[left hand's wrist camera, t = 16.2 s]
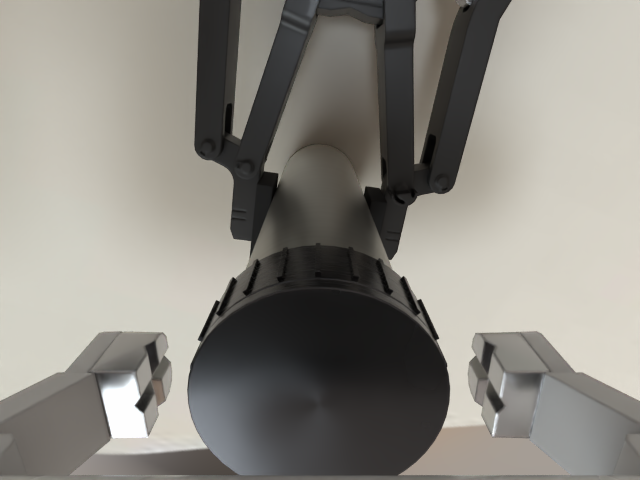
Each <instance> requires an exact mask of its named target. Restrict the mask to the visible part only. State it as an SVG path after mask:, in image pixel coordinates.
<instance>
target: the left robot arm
mask: <svg viewBox="0 0 640 480" xmlns="http://www.w3.org/2000/svg"><path fill="white" fill-rule="evenodd" d="M167 349H168V342H167V337H166V335H165V334H164V333H163V332H121V331H118V332H101V333H99V334H98V335H97V336H96V337H95V338H94V339H93V340H92V342H91V343H90V344H89V345H88V346H87V347H86V348H85V350H84V351H83V352H82V353H81V354H80V355H79V356H78V358H77V359H76V360H75V361H74V362H73V363H72V364H71V366H70V367H69V368H68V369H67V370H66V371H65V372H64V373H56V374H54V375H52V376H50V377H48V378H46V379H44V380H42V381H40V382H38V383H36V384H34V385H32V386H30V387H28V388H26V389H24V390H22V391H20V392H18V393H16V394H14V395H12V396H9V397H7V398H5V399H3V400H1V401H0V480H640V401H638V400H636V399H634V398H632V397H630V396H628V395H626V394H624V393H622V392H620V391H618V390H616V389H614V388H612V387H610V386H608V385H606V384H604V383H602V382H600V381H598V380H596V379H594V378H592V377H590V376H588V375H586V374H584V373H576V372H575V371H574V370H573V369H572V368H571V367H570V366H569V364H568V363H567V362H566V361H565V360H564V359H563V358H562V356H561V355H560V354H559V353H558V352H557V351H556V350H555V348H554V347H553V346H552V345H551V344H550V343H549V342H548V340H547V339H546V338H545V337H544V336H543V335H542V334H541V333H539V332H537V331H529V332H504V333H475V335H474V338H473V342H472V349H473V351H474V353H475V354H476V356H475V357H474V358H473V359H472V360H471V361H470V362H469V368H468V382H469V388H470V391H471V394H472V396H473V399H474V401H475V402H477V403H478V404H479V405H481V406H482V407H483V408H482V414H481V415H482V418H483V420H484V422H485V424H486V426H487V428H488V430H489V432H490V434H491V436H492V437H501V438H530V441H531V442H532V443H534V444H535V445H536V446H537V447H538V448H540V449H541V450H542V451H543V452H544V453H546V454H547V455H548V456H549V457H550V458H551V459H553V460H554V461H555V462H556V463H557V464H559V465H560V466H561V467H562V468H563V469H564V470H566V471H567V472H568V473H569V474H570V475H70V474H71V473H72V472H73V471H74V470H76V469H77V468H78V467H79V466H80V465H82V464H83V463H84V462H85V461H86V460H87V459H89V458H90V457H91V456H92V455H93V454H95V453H96V452H97V451H98V450H99V449H101V448H102V447H103V446H104V445H105V444H107V443H108V442H109V441H110V438H138V437H148V436H149V434H150V432H151V430H152V428H153V426H154V424H155V422H156V420H157V418H158V415H159V414H158V408H157V407H158V406H159V405H161V404H162V403H163V402H165V401H166V399H167V396H168V394H169V392H170V387H171V382H172V367H171V362H170V361H169V360H168V359H167V358H166V357H165V356H164V354H165V353H166V351H167Z"/></svg>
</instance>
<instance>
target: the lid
mask: <svg viewBox="0 0 640 480" xmlns="http://www.w3.org/2000/svg"><path fill="white" fill-rule="evenodd" d="M437 339H439V337H438V335H437V332H436V330H435V328H434V326H433V324H432V322H431V319H430V317H429V315H428V313H427V311H426V309H425V306H424V304H423V302H422V300H421V299H420V300H417V298H416V296H415V295H414V293H413V292H412V290H411V288H410V286H409V284H408V281H407V279H406V278H405V277H404V276H403V277H402V278H401V277H400V276H399V275H398V274H397V273H395V272H394V271H393V270H392V269H391V268H389V267H388V266H387V265H385V264H384V262H383V260H382V259H380V258H379V259H378V260H377V259H375V258H373V257H371V256H368V255H366V254H364V253H361V252H358V251H355V250H354V249H353V247H348V248H342V247H337V246H326V245H321V243H316V245H311V246H301V247H295V248H290V249H288V247H285V248H283V250H282V251H280V252H277V253H274V254H271V255H269V256H267V257H265V258H263V259H261V260H258V259H256V260H254V261H253V264H252V265H251V266H250V267H248V268H247V269H246V270H245V271H243V272H242V273H241V274H240V275H239V276H238V277H237V278H236V279H235V278H234V277H233V278H232V279H231V280H230V282H229V284H228V286H227V288H226V291H225V293H224V294H223V296H222V297H221V300H220V302H219V301H217V300H216V302H215V304H214V306H213V308H212V310H211V312H210V314H209V317H208V319H207V321H206V323H205V325H204V327H203V329H202V332H201V334H200V336H199V338H198V340H199V341H201V343H200V345H199V347H198V349H197V352H196V354H195V356H194V358H193V360H192V363H191V365H190V373H189V379H188V389H187V391H188V404H189V409H190V413H191V417H192V420H193V422H194V425H195V427H196V430H197V432H198V433H199V435H200V437H201V438H202V440H203V442H204V443H205V444H206V446H207V447H208V448H209V450H210V451H211V452H212V453H213V454H214V455H215V456H216V457H217V458H218V459H219V460H220V461H221V462H222V463H223V464H224V465H226V466H227V467H228V468H230V469H231V470H232V471H234V472H235V473H237V474H239V475H399V474H400V473H402V472H404V471H405V470H406V469H408V468H409V467H410V466H412V465H413V464H414V463H415V462H417V461H418V460H419V459H420V458H421V457H422V456H423V455H424V454H425V453H426V451H427V450H428V449H429V447H430V446H431V445H432V444H433V442H434V441H435V439H436V437H437V436H438V434H439V432H440V431H441V429H442V426H443V424H444V421H445V418H446V415H447V411H448V406H449V399H450V383H449V375H448V371H447V363H446V360H445V358H444V356H443V354H442V351H441V349H440V347H439V345H438V343H437Z"/></svg>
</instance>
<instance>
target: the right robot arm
mask: <svg viewBox="0 0 640 480" xmlns="http://www.w3.org/2000/svg"><path fill="white" fill-rule="evenodd" d="M416 1H417V0H286V2H285V5H284V8H283V12H282V16H281V21H280V25H279V28H278V31H277V34H276V37H275V40H274V43H273V46H272V49H271V52H270V55H269V58H268V61H267V64H266V67H265V70H264V73H263V76H262V79H261V82H260V85H259V88H258V91H257V94H256V97H255V100H254V103H253V107H252V110H251V113H250V116H249V119H248V122H247V125H246V128H245V131H244V134H243V137H242V140H240V139H239V138H237V137H235V136H233V135H232V130H233V115H234V101H235V86H236V71H237V57H238V42H239V28H240V13H241V0H200V8H199V35H198V62H197V90H196V117H195V144H194V145H195V151H196V152H197V154H198V155H199V156H200V157H201V158H202V159H205V160H213V161H215V162H217V163H219V164H220V165H222V166H224V167H226V168H227V169H228V170H229V171H230V172H231V174H232V176H233V179H234V188H233V201H232V214H231V227H230V229H231V232H232V235H233V238H234V239H239V240H247V241H251V250H250V257H251V254H252V252H253V249H254V246H255V244H256V241H257V239H258V236H259V233H260V231H261V228H262V226H263V223H264V221H265V218H266V215H267V213H268V210H269V208H270V205H271V202H272V200H273V197H274V195H275V192H276V189H277V182H278V173H271V172H264V164H265V162H266V160H267V156H268V153H269V151H270V148H271V145H272V142H273V139H274V137H275V134H276V131H277V128H278V125H279V123H280V120H281V117H282V114H283V111H284V109H285V106H286V103H287V100H288V97H289V95H290V92H291V89H292V86H293V83H294V81H295V78H296V75H297V72H298V69H299V67H300V64H301V61H302V58H303V55H304V53H305V50H306V47H307V44H308V41H309V39H310V36H311V34H312V32H313V29H314V26H315V23H316V21H317V18H318V15H323V16H329V17H332V16H339V15H350V16H352V17H354V18H356V19H358V20H360V21H362V22H364V23H370V24H374V28H375V45H376V50H377V72H378V99H379V126H380V153H381V179H382V186H381V190H380V188H374V187H367V186H366V187H365V192H364V197H365V200H366V202H367V205H368V207H369V210H370V213H371V215H372V218H373V221H374V223H375V226H376V228H377V231H378V234H379V236H380V239H381V241H382V244H383V247H384V249H385V252H386V254H387V257H388V260H391V259H392V258H393V257H394V255H395V254H396V252H397V250H398V245H399V240H400V237H401V233H402V228H403V224H404V220H405V215H406V211H407V207H408V205H411V204H412V203H413V202H414V201H415V200H416V198H417V196H419V195H423V194H428V193H433V192H435V193H438V194H444V193H447V192H449V191H450V190H451V189H452V188H453V186H454V184H455V181H456V177H457V173H458V170H459V166H460V162H461V159H462V155H463V151H464V148H465V144H466V140H467V137H468V133H469V129H470V126H471V122H472V118H473V115H474V111H475V107H476V104H477V100H478V97H479V93H480V89H481V86H482V82H483V78H484V75H485V71H486V67H487V64H488V60H489V56H490V53H491V49H492V45H493V42H494V38H495V34H496V31H497V27H498V23H499V20H500V18H501V17H502V15H503V13H504V12H505V10H506V9H507V7H508V5H509V4H510V2H511V1H512V0H455V1H456V3H457V4H458V5H459V6H461V7H460V9H459V11H458V13H457V16H456V18H455V21H454V23H453V27H452V30H451V33H450V38H449V42H448V46H447V50H446V54H445V59H444V63H443V67H442V71H441V75H440V80H439V84H438V88H437V92H436V96H435V100H434V105H433V109H432V113H431V117H430V121H429V126H428V130H427V134H426V138H425V142H424V147H423V151H422V155H421V159H420V163H419V164H414V86H413V43H414V39H415V32H416Z"/></svg>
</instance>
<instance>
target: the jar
mask: <svg viewBox="0 0 640 480" xmlns="http://www.w3.org/2000/svg"><path fill="white" fill-rule="evenodd" d="M316 243H321V245H326V246H337V247H342V248H348V247H353V249H354V250H355V251H358V252H361V253H364V254H366V255H368V256H371V257H373V258H375V259H377V260H378V259H379V258H380V259H382V260H383V262H384V264H385V265H387V266H388V267H389V268H391V265H390V262H389V260H388V257H387V254H386V252H385V249H384V247H383V244H382V241H381V239H380V236H379V234H378V231H377V228H376V226H375V223H374V221H373V218H372V215H371V213H370V210H369V207H368V205H367V202H366V200H365V197H364V194H363V192H362V189H361V187H360V184H359V181H358V179H357V176H356V173H355V171H354V168H353V166H352V164H351V162H350V160H349V159H348V158H347V157H346V155H345V154H343V153H342V152H341V151H340V150H338V149H336V148H334V147H332V146H329V145H323V144H315V145H310V146H306V147H304V148H302V149H300V150H299V151H297V152H296V153H295V154H294V155H293V156H292V157H291V158H290V159H289V161H288V162H287V164H286V166H285V169H284V171H283V174H282V176H281V179H280V182H279V184H278V187H277V189H276V192H275V195H274V197H273V200H272V202H271V205H270V208H269V210H268V213H267V215H266V218H265V221H264V223H263V226H262V228H261V231H260V233H259V236H258V239H257V241H256V244H255V246H254V249H253V252H252V254H251V257H250V259H249V262H248V265H247V267H246V269H247V268H248V267H250V266H251V265H252V264H253V261H254V260H256V259H258V260H261V259H263V258H265V257H267V256H269V255H271V254H274V253H277V252H280V251H282V250H283V248H285V247H288V249H290V248H295V247H301V246H311V245H316ZM391 269H392V268H391Z"/></svg>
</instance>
